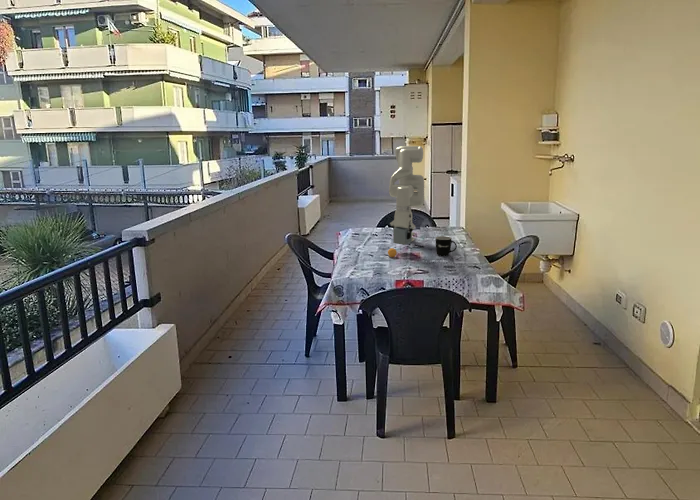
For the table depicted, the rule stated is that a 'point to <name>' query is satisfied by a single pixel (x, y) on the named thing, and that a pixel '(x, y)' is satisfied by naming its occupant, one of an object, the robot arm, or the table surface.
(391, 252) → the ball
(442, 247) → the mug
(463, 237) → the table surface
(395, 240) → the grey rounded box
